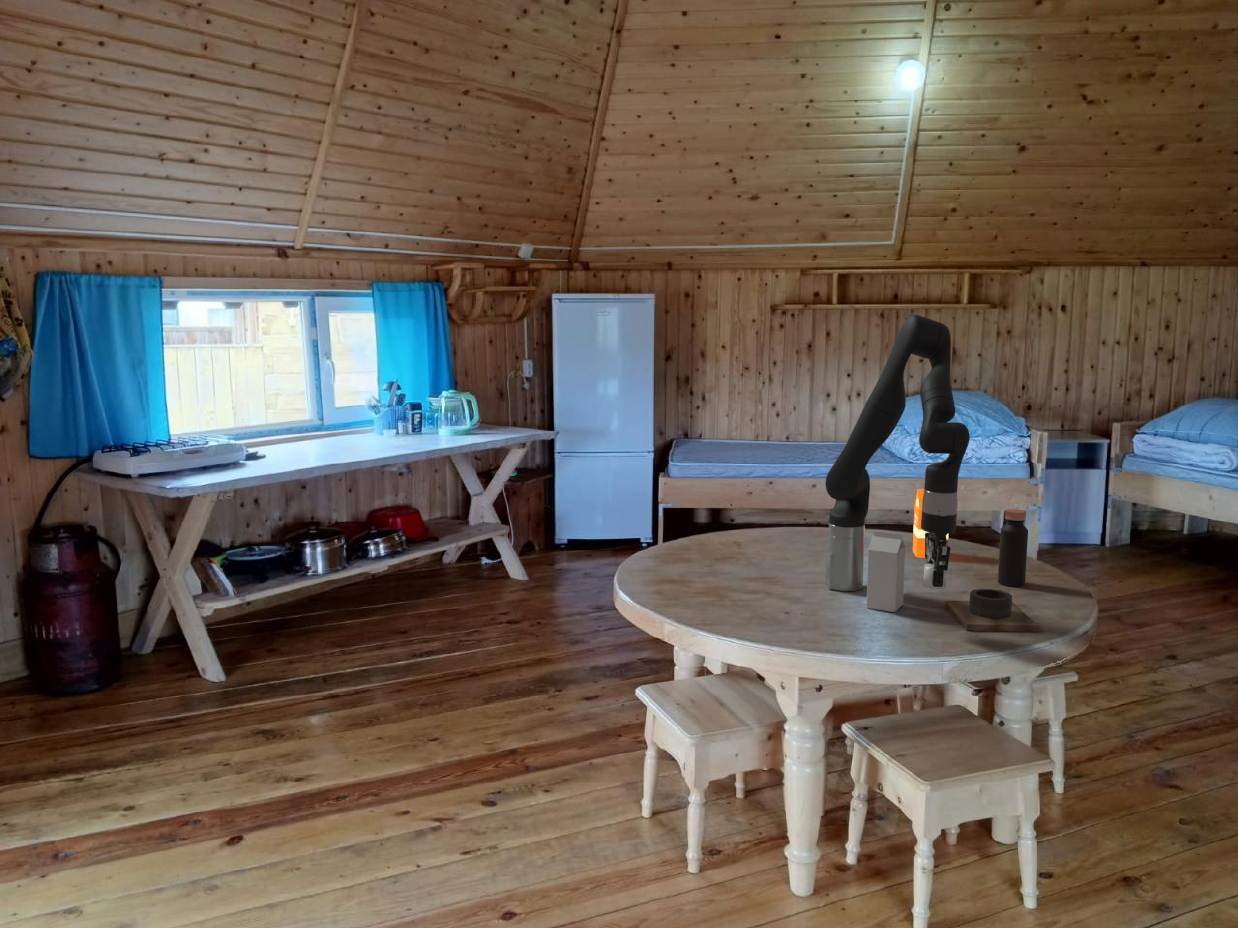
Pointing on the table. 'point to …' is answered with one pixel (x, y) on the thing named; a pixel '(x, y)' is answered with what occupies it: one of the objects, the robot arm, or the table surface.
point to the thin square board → (990, 612)
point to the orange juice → (919, 527)
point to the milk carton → (885, 571)
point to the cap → (929, 576)
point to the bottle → (1013, 549)
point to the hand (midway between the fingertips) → (934, 582)
